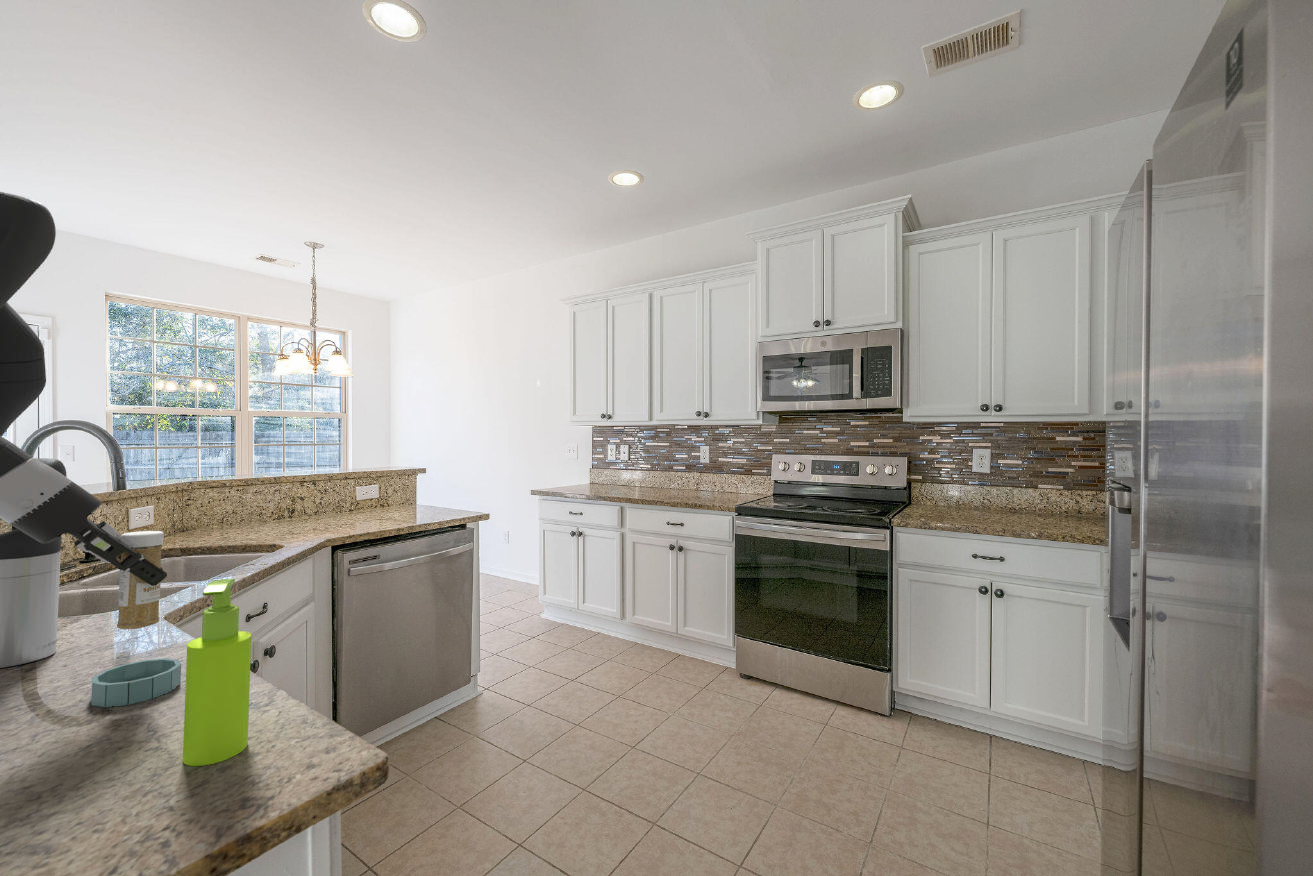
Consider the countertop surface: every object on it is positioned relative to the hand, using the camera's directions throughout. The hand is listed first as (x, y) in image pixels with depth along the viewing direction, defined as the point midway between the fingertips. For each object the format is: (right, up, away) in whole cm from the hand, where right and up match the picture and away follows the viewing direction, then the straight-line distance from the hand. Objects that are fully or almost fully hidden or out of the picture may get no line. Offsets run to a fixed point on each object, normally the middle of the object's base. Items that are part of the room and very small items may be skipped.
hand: (158, 577), depth 79 cm
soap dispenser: (+22, -16, -17) cm, 33 cm away
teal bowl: (-1, -16, -2) cm, 16 cm away
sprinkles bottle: (-1, -7, -2) cm, 7 cm away
